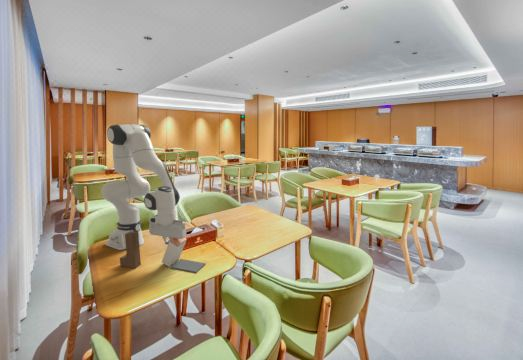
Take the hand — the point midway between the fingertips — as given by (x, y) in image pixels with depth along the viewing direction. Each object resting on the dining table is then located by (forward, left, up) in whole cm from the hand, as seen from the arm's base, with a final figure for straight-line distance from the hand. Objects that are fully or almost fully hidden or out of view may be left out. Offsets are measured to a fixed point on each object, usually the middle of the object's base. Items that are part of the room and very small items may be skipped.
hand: (168, 244), depth 142 cm
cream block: (0, 0, -9) cm, 9 cm away
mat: (+11, 0, -10) cm, 15 cm away
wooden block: (-17, -9, -11) cm, 22 cm away
